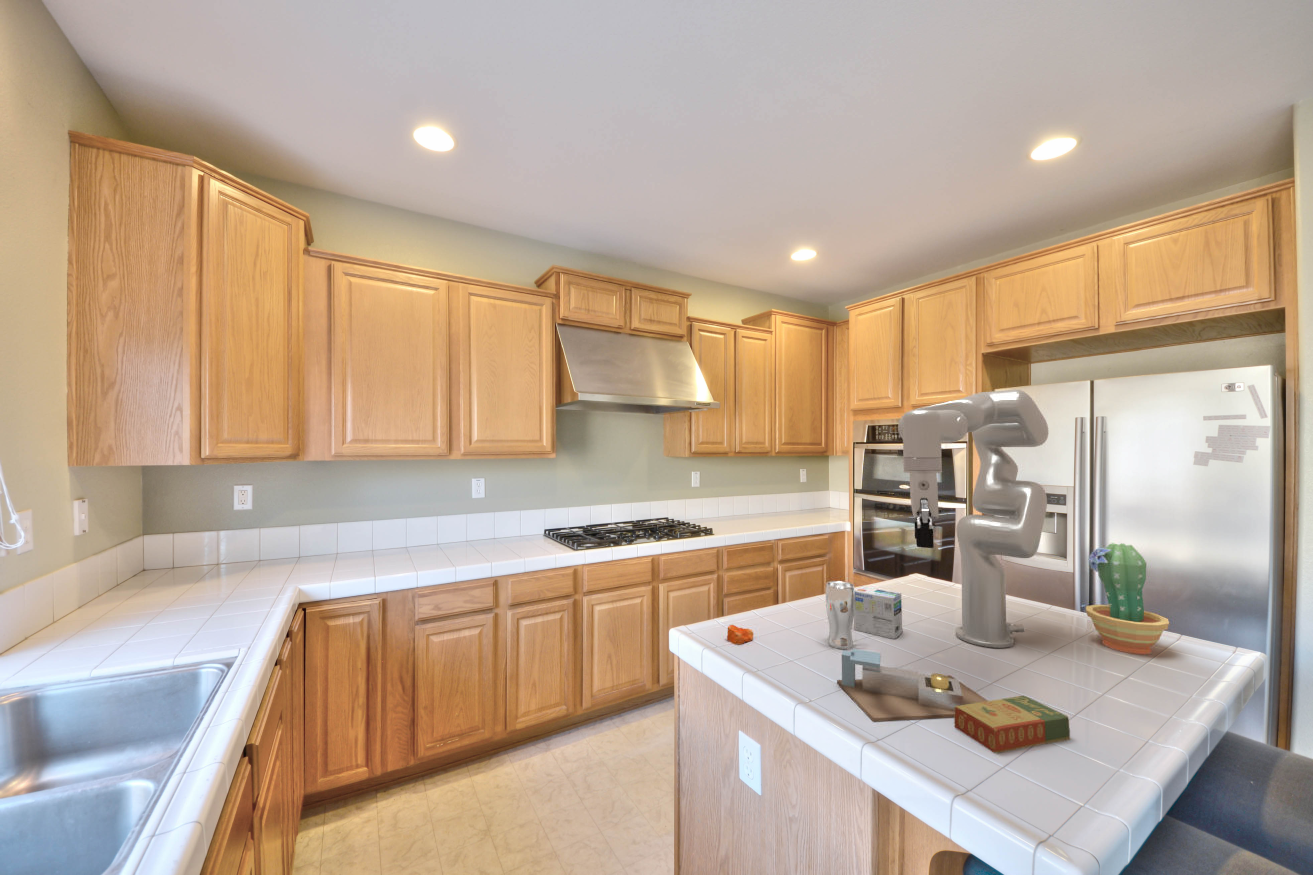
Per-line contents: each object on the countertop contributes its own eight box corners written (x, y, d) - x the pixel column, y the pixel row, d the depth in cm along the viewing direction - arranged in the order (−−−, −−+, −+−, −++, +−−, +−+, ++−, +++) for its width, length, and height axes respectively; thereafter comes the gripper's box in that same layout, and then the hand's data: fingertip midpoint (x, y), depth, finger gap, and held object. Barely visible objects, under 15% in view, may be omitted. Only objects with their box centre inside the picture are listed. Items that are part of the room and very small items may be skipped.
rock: (774, 645, 130) (774, 628, 130) (738, 656, 123) (738, 638, 123) (741, 630, 140) (741, 615, 140) (706, 640, 133) (706, 624, 133)
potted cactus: (1097, 631, 136) (1096, 536, 137) (1179, 650, 124) (1176, 546, 124) (1075, 643, 128) (1073, 543, 128) (1160, 665, 115) (1157, 553, 116)
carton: (953, 728, 90) (952, 704, 91) (1024, 716, 95) (1023, 692, 95) (995, 755, 82) (995, 728, 82) (1071, 740, 87) (1070, 715, 87)
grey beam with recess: (958, 695, 100) (958, 674, 100) (962, 712, 94) (962, 690, 94) (864, 678, 108) (863, 659, 108) (861, 693, 101) (861, 673, 101)
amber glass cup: (942, 696, 100) (942, 672, 100) (952, 703, 97) (952, 679, 97) (927, 696, 100) (927, 673, 100) (937, 704, 97) (937, 680, 97)
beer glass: (851, 639, 131) (850, 581, 131) (859, 650, 124) (858, 588, 124) (823, 639, 132) (822, 580, 132) (829, 649, 125) (829, 587, 125)
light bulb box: (903, 632, 136) (902, 592, 136) (895, 640, 131) (894, 597, 131) (862, 623, 143) (861, 584, 143) (853, 630, 138) (852, 590, 138)
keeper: (880, 686, 106) (880, 652, 106) (880, 699, 100) (879, 664, 100) (843, 679, 109) (843, 647, 109) (841, 691, 103) (840, 657, 103)
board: (950, 678, 109) (950, 675, 109) (1003, 714, 94) (1003, 711, 94) (837, 683, 107) (836, 680, 107) (873, 721, 92) (873, 718, 92)
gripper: (945, 467, 104) (946, 552, 104) (938, 464, 120) (939, 537, 120) (904, 467, 107) (905, 549, 107) (902, 464, 123) (904, 535, 123)
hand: (923, 543), depth 113 cm, fingers open, 9 cm apart
